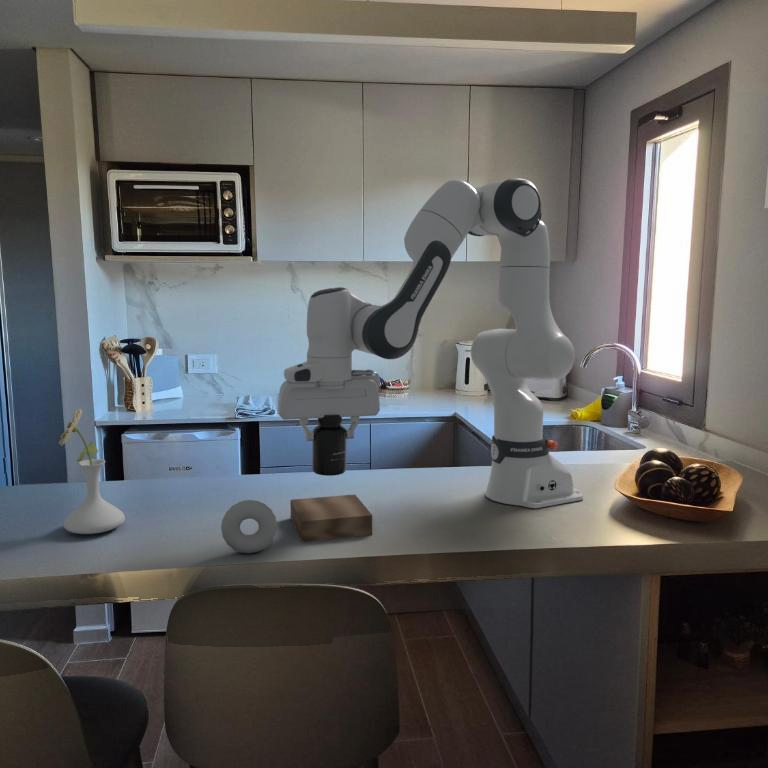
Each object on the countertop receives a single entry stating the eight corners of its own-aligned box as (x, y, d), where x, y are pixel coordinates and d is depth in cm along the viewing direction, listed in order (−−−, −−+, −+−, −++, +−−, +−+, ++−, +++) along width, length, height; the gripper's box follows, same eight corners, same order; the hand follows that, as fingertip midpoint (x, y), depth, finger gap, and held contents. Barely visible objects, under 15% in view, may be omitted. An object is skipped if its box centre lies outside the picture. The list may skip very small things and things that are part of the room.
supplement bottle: (341, 477, 132) (341, 417, 130) (307, 475, 133) (307, 415, 131) (350, 468, 138) (350, 411, 137) (318, 466, 140) (318, 409, 138)
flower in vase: (86, 518, 141) (79, 400, 138) (136, 521, 139) (130, 402, 136) (45, 540, 128) (36, 411, 125) (100, 544, 127) (93, 413, 123)
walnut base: (355, 512, 146) (355, 494, 145) (372, 534, 133) (372, 515, 132) (290, 518, 142) (290, 499, 141) (301, 541, 129) (301, 521, 128)
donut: (221, 558, 120) (219, 504, 119) (222, 551, 124) (220, 498, 122) (277, 554, 122) (276, 501, 121) (277, 547, 126) (276, 495, 124)
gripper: (375, 367, 139) (375, 433, 141) (276, 370, 133) (277, 438, 135) (384, 371, 133) (383, 439, 135) (280, 373, 127) (281, 445, 129)
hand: (329, 439), depth 135 cm, fingers closed on supplement bottle, 7 cm apart
